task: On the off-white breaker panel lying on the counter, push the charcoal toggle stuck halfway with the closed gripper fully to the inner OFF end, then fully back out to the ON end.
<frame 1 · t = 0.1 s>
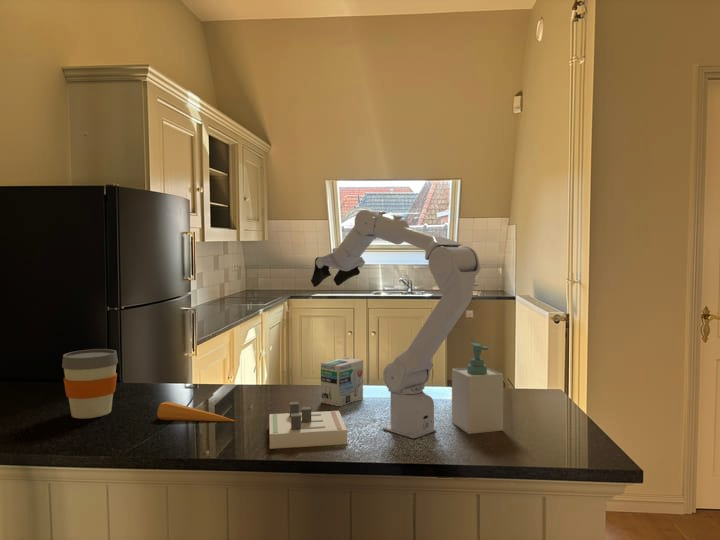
hand: (324, 283, 144), 32 cm above the table, tool tilted 50°, fingers open, 7 cm apart
soap bottle: (477, 427, 127), on the table
carrot: (197, 422, 133), on the table
tripped breaker: (306, 414, 121), point 5 cm above the table, slide at 2.5 cm
light bulb box: (342, 401, 149), on the table
breaker panel: (306, 435, 121), on the table
reusable coffee cup: (91, 413, 139), on the table
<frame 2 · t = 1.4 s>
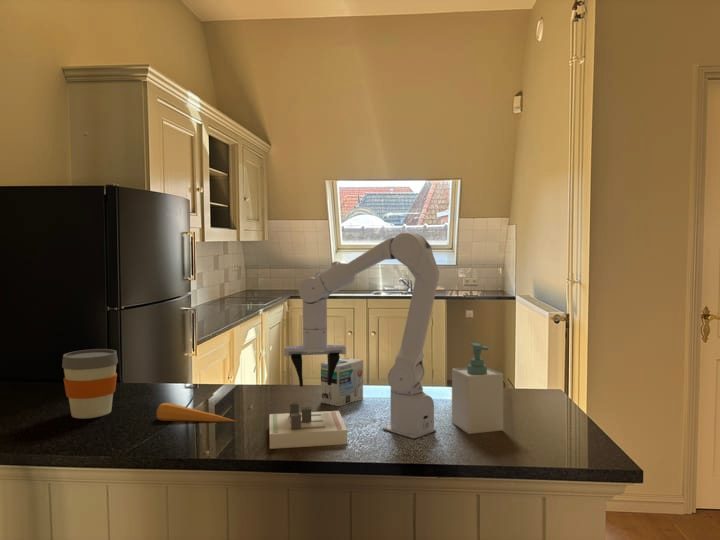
hand: (315, 385, 132), 8 cm above the table, tool pointing down, fingers open, 6 cm apart
nothing on the table moved.
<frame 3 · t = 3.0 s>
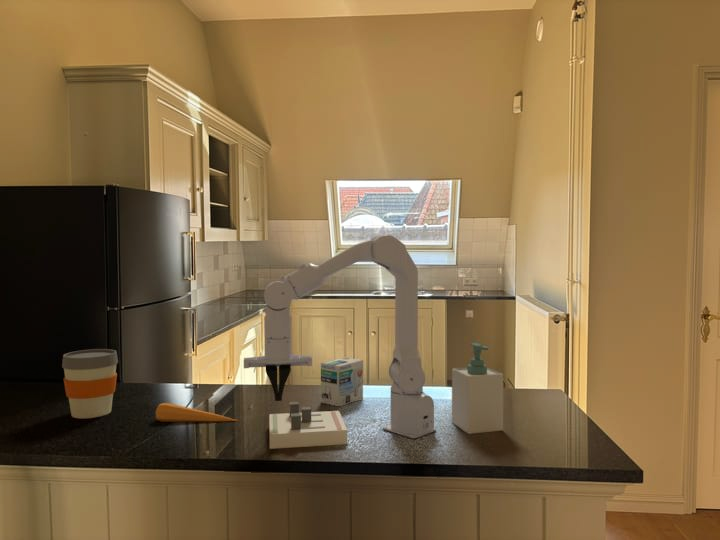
hand: (278, 399, 120), 8 cm above the table, tool pointing down, fingers closed
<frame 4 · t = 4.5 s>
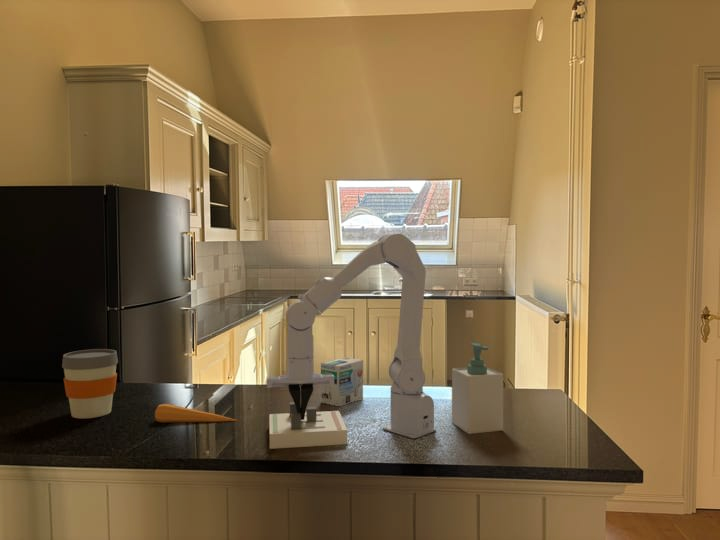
hand: (300, 418, 121), 4 cm above the table, tool pointing down, fingers closed
tripped breaker: (311, 413, 121), point 5 cm above the table, slide at 1.4 cm, touching gripper
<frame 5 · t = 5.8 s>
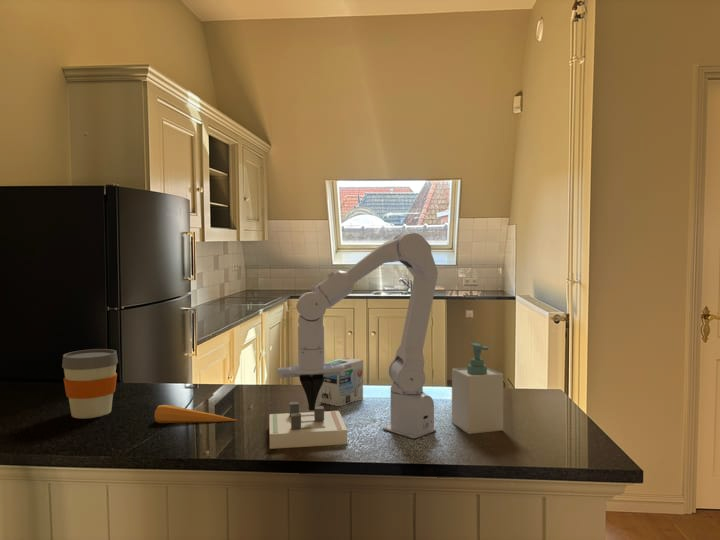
hand: (311, 409, 121), 6 cm above the table, tool pointing down, fingers closed
tripped breaker: (319, 413, 122), point 5 cm above the table, slide at -0.3 cm
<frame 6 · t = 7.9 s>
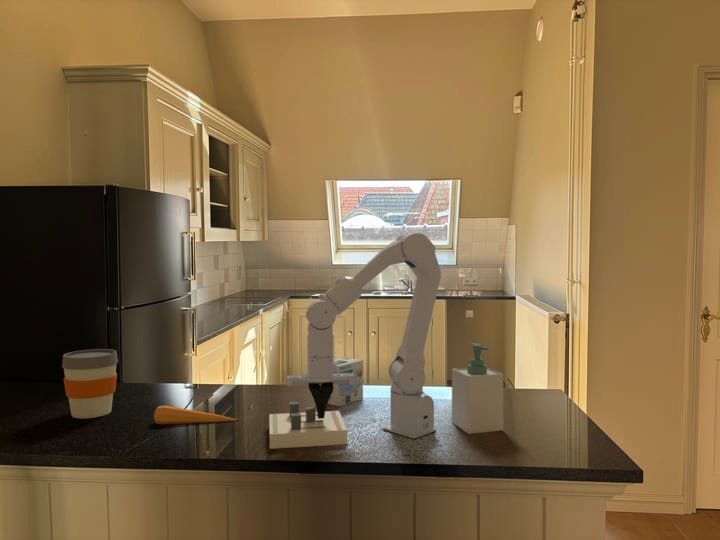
hand: (320, 417, 122), 4 cm above the table, tool pointing down, fingers closed
tripped breaker: (310, 413, 121), point 5 cm above the table, slide at 1.6 cm, touching gripper
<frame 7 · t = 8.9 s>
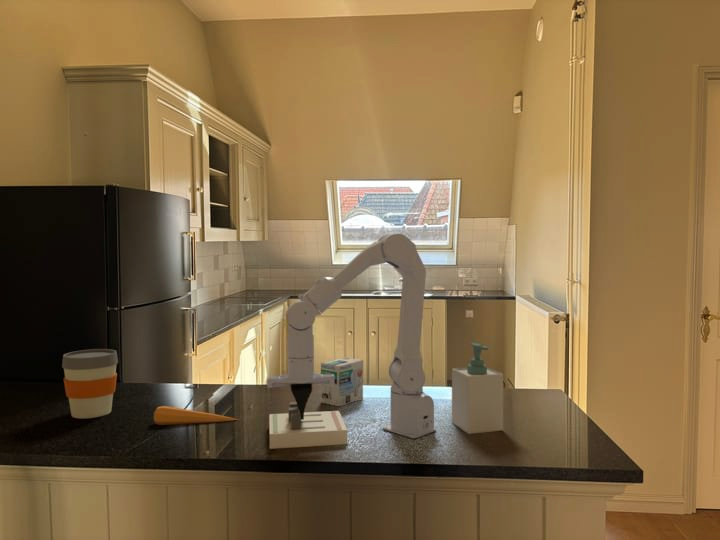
hand: (301, 418, 121), 4 cm above the table, tool pointing down, fingers closed
tripped breaker: (293, 414, 121), point 5 cm above the table, slide at 5.4 cm, touching gripper
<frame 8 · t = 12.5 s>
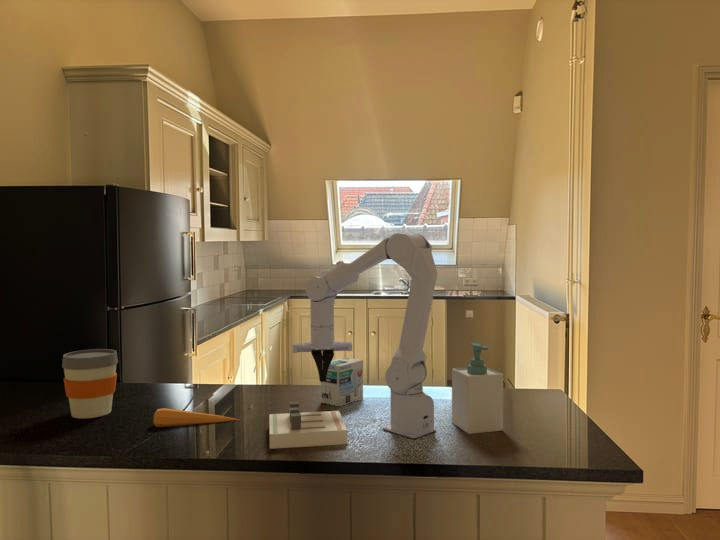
hand: (322, 380, 136), 8 cm above the table, tool pointing down, fingers closed
tripped breaker: (294, 414, 121), point 5 cm above the table, slide at 5.1 cm
at the end: tripped breaker slide at 5.1 cm; light bulb box moved 0.3 cm from its start; carrot moved 2.7 cm from its start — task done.
